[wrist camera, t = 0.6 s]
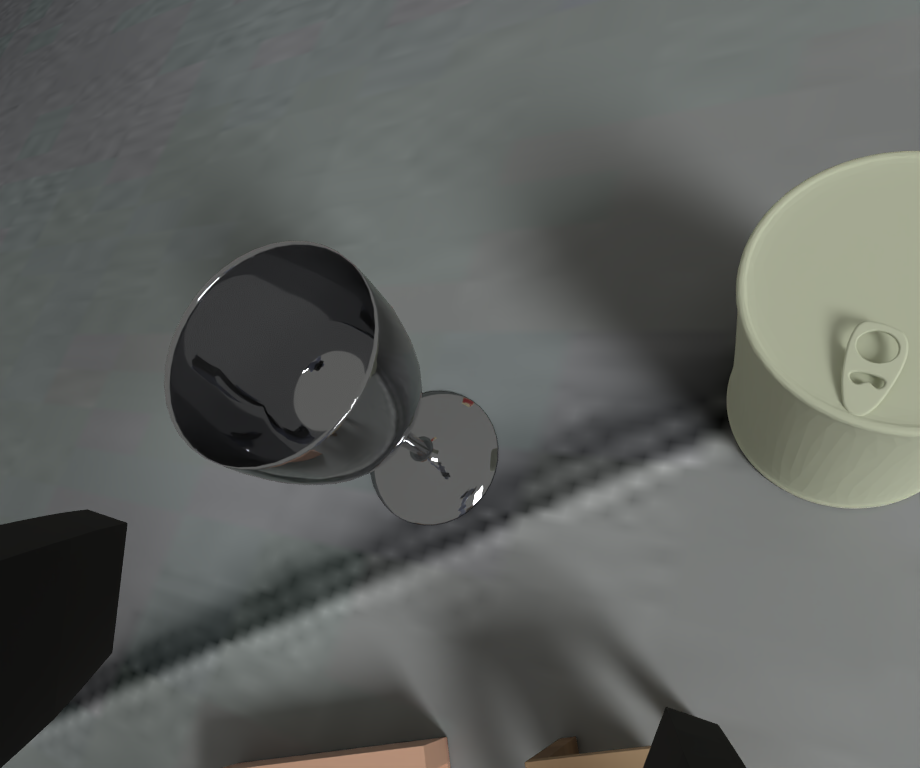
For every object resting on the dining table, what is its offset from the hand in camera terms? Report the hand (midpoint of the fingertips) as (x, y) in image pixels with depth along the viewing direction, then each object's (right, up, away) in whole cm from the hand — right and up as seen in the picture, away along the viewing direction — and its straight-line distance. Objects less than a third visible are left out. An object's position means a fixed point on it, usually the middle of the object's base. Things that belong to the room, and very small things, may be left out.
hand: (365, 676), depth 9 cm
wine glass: (0, 0, +27) cm, 27 cm away
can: (+18, +3, +21) cm, 28 cm away
